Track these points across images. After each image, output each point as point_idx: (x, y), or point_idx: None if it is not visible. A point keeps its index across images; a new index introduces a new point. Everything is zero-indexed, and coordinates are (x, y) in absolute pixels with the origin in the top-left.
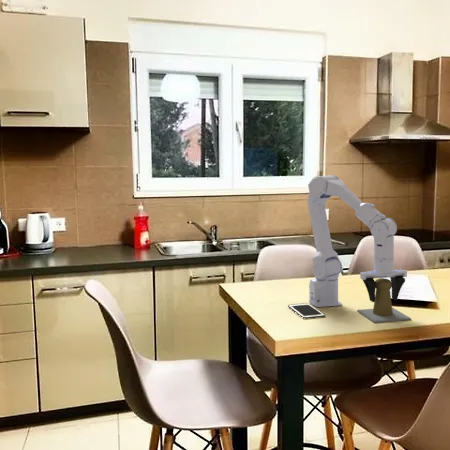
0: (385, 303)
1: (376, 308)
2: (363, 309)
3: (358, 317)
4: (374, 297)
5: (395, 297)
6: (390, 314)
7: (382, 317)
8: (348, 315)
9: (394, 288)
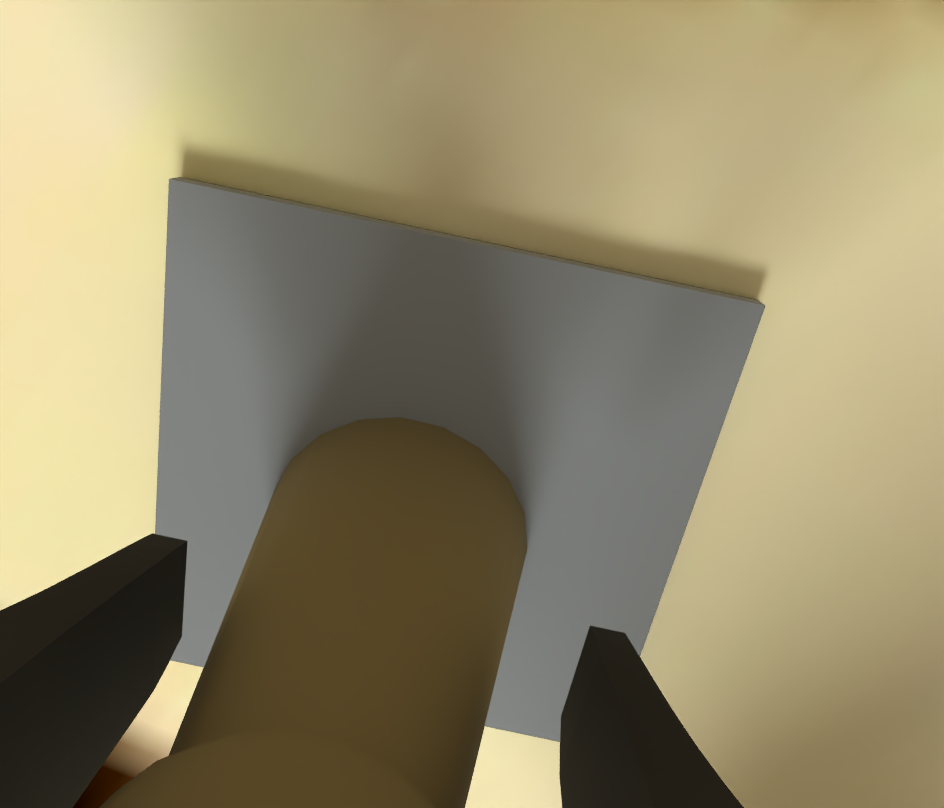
0: (404, 539)
1: (514, 575)
2: (526, 732)
3: (757, 570)
4: (621, 678)
5: (160, 564)
6: (361, 425)
7: (527, 394)
8: (807, 675)
9: (40, 754)
